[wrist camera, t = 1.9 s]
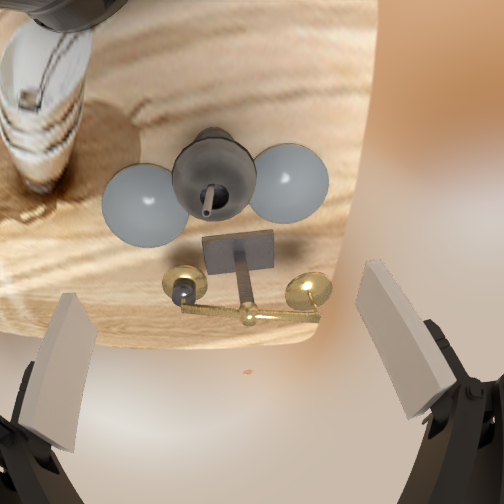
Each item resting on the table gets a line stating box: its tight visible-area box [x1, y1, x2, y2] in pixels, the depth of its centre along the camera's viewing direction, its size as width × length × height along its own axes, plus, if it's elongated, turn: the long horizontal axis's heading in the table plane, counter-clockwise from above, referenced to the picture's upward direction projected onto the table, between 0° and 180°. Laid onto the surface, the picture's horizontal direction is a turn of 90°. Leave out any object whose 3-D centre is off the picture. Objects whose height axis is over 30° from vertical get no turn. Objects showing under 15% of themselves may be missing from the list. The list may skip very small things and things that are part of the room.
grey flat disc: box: [102, 164, 188, 248], centre depth 36 cm, size 12×12×1 cm
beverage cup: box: [172, 128, 257, 221], centre depth 25 cm, size 7×7×20 cm
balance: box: [162, 230, 332, 326], centre depth 36 cm, size 6×21×15 cm, turn 93°
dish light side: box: [249, 144, 329, 224], centre depth 36 cm, size 11×11×1 cm
